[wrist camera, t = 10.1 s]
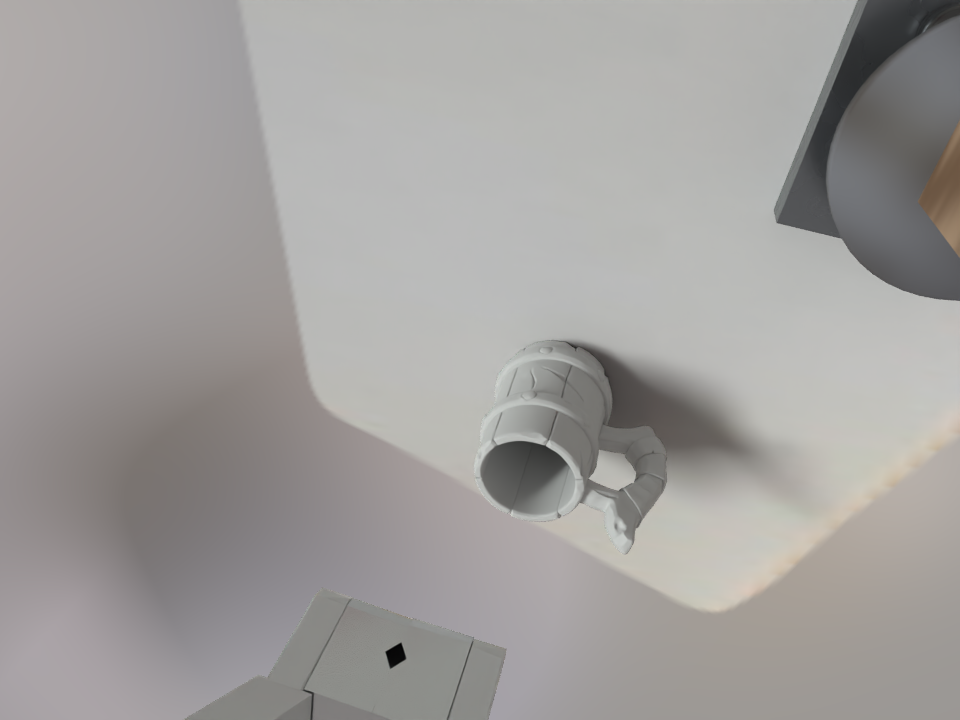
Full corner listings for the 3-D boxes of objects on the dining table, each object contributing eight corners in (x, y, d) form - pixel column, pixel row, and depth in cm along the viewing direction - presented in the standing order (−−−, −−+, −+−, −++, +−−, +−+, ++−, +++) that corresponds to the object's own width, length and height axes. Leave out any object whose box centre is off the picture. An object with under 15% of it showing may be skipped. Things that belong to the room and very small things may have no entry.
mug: (519, 318, 47) (470, 426, 37) (694, 384, 46) (691, 513, 37) (487, 407, 52) (436, 525, 42) (647, 469, 51) (633, 605, 41)
